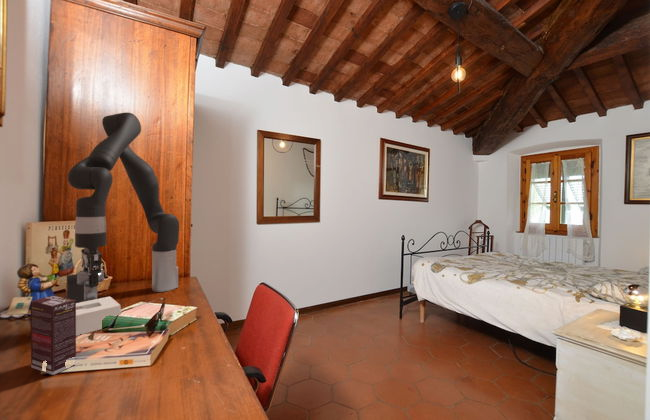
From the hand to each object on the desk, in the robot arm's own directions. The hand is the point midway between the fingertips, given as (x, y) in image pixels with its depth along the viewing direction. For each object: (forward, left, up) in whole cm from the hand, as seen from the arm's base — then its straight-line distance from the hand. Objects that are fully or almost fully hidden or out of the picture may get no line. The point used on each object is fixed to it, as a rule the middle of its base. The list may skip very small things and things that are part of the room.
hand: (91, 284), depth 88 cm
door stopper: (0, -21, -13) cm, 25 cm away
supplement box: (+11, +21, -13) cm, 27 cm away
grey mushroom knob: (0, 0, -5) cm, 5 cm away
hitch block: (0, 0, -13) cm, 13 cm away
